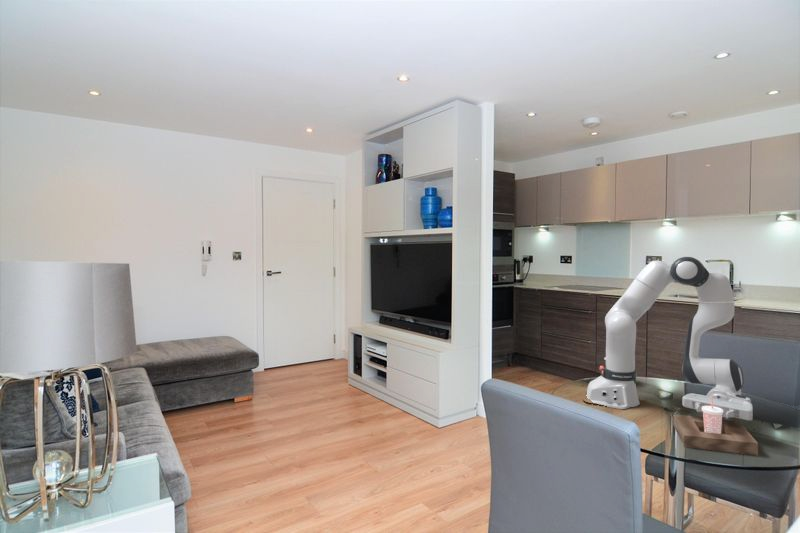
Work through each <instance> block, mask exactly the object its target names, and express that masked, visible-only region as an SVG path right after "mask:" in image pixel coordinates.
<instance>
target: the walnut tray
mask: <svg viewBox="0 0 800 533" xmlns="http://www.w3.org/2000/svg"><path fill="white" fill-rule="evenodd" d="M672 418H673V422H672V423H673V427H674V430H675V432H676V433H677V435H678V437H679V439H680V442H681V443H682V445H683V448H691V449H699V450H706V449H707V451H715V452H724V453H733V454H739V453H741V455H747V454H750V455H749V456H757V457H758V456H759V443H758V441H757V440H756V439H755V438H754V437H753V436H752V434H751V433H750V432H749V431H748V430H747V428H746V427H745V425H744V424H742V422H741V421H740V420H732V419H726V418H722V426H721V434H717V433H708V432H704V420H703V416H694V415H693V416H692V415H684V414H683V415H681V414H673V417H672Z"/></svg>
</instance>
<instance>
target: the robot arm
mask: <svg viewBox="0 0 800 533" xmlns="http://www.w3.org/2000/svg"><path fill="white" fill-rule="evenodd" d="M671 283H677V284H679V285H682V286H690V287H693V288H694V289H695V290H696V293H697V297H698V298H697V300H698V308H697V311H696V313H695V315H693V316H691V317H690V320H689V322H688V326H687V334H686V341H685V348H684V350H685V351H684V358H683V362H682V367H681V372H682V376H683V378H684V379H685V380H687V381H688V382H689V383H691V384H695V385H701V384H702V385H703V384H706V385H707V384H708V385H714V386H713V387H712V388H711V389H710V390H709V391H708V392H707V394H706V395H704V394H697V393H694V392H693V393H692V392H691V393H686V394H685V395H684V396H682V399H681V400H682V401H681V402H682V407H684V408H687V409H693V410H696V413H700V414H703V411H702V406H711V394H713V406H715V407H719V408H721V409H723V414H722V419H726V420H729V418H734V419H738V420H744V421H748V422H749V421H753V419H754V418H753V417H754V416H753V413H754V412H753V411H754V408H753V403H752V400H751V398H749V397H747V396H743V395H742V388H743V386H744V372H743V369H742V367H741V366H740V365H739V363H737V361H735V360H733V359H731V358H711V357H710V358H708V357H700V356H699V351H700V345H701V344H700V342H701V337H702V335H703V333H705V332H707V331H709V330H712V329H716V328H717V327H718V328H719V327H721V326H723V325H726V324H728V323H729V322H731V320H733V318H734V316H735V302H734V301H735V299H734V293H733V288H732V286H731V282H730V279H729V278H728V277H727V276H726V275H725V274H723V273H715V272H714V273H713V272H712V273H711V272H709V270H707V268H706V267H705V266H704V264H703V263H702V262H701V261H700V260H698V258H695V257H693V256H682V257H679V258H677V259H675V261H673V263H666V262H664V261H662V260H651V261H650V262H649V263H648V264H646V265H645V267H643V268H642V270H641V271H640V272H639V273H638V274H637V276H636V277H635V278H634V279H633V281H632V282H631V284H630V285H629V286H628V287H627V289H626V290H625V292H624V293H623V295H621V296H620V297H619V299H618V300H617V301H616V302H615V303H614V305H613V306H612V307H611V308H610V310H609V311H608V312H607V313H606V315H605V317H604V324H605V330H606V331H605V332H606V334H605V338H606V339H605V357H606V364H605V366H604V365H600V366H599V371H600V376H598V377H596V378H595V379H592V380H591V381H590V382H589V383H588V385H587V389H586V391H587V395H586V396H587V398H588V399H590V400H591V401H592V402H593V403H597V404H601V405H604V406H603V407H605V406H607V407H606V408H612V409H619V410H626V409H629V408H634V407H635V408H636V407H638V406H639V405H640V403H641V402H640V400H639V397H638V396H639V395H638V391H637V385H636V384H637V380H638V379H637V377H638V376H637V370H636V338H637V321H638V320H640V318H641V317H643V315H644V314H645V313H646V312H647V311H649V310H650V309H651V307H652V306H653V304H655V303H656V301H657V299H658V298H659V297H660V296H661V295H662V293H663V292H664V290H665V289H666V288H667V287H668V285H669V284H671Z"/></svg>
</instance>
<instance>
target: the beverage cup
mask: <svg viewBox="0 0 800 533" xmlns="http://www.w3.org/2000/svg"><path fill="white" fill-rule="evenodd" d="M702 411H703V412H702V417H703V420H704V432H708V433H717V434H721V426H722V419H723V415H722V414H723V409H721V408H719V407H715V406H713V394H711V406H702Z"/></svg>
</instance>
